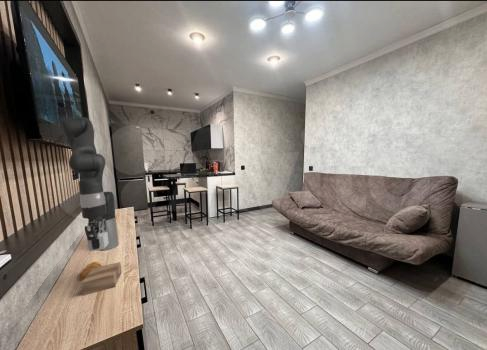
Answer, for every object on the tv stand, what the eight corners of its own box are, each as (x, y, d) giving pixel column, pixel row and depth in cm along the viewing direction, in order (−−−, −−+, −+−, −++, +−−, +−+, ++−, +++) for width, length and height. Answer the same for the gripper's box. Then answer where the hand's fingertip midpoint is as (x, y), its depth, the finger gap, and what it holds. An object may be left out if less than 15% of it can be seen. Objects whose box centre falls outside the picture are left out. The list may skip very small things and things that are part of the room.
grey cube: (94, 245, 73) (92, 234, 73) (108, 243, 75) (107, 231, 75) (88, 251, 68) (87, 238, 68) (104, 248, 70) (103, 236, 70)
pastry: (95, 278, 77) (94, 270, 76) (76, 283, 74) (74, 275, 74) (103, 266, 85) (102, 259, 85) (85, 271, 83) (84, 263, 83)
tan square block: (94, 279, 76) (92, 268, 75) (121, 272, 79) (120, 262, 79) (83, 295, 66) (81, 282, 66) (115, 286, 70) (113, 274, 70)
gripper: (89, 202, 76) (94, 240, 77) (72, 210, 62) (78, 256, 64) (110, 199, 78) (115, 236, 80) (98, 206, 65) (104, 251, 66)
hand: (99, 245), depth 72 cm, fingers closed on grey cube, 5 cm apart
